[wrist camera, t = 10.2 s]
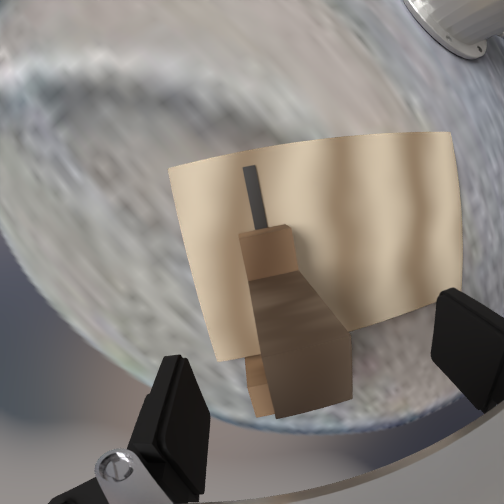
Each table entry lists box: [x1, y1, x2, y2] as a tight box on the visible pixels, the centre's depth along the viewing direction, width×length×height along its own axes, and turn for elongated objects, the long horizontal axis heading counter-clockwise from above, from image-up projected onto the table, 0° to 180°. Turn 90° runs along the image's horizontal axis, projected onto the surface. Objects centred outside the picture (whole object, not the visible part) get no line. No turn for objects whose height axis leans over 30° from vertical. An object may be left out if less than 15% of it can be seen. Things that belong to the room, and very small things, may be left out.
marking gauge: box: [238, 224, 352, 419], centre depth 15 cm, size 6×12×12 cm, turn 11°
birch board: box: [168, 132, 463, 362], centre depth 20 cm, size 22×14×2 cm, turn 101°
